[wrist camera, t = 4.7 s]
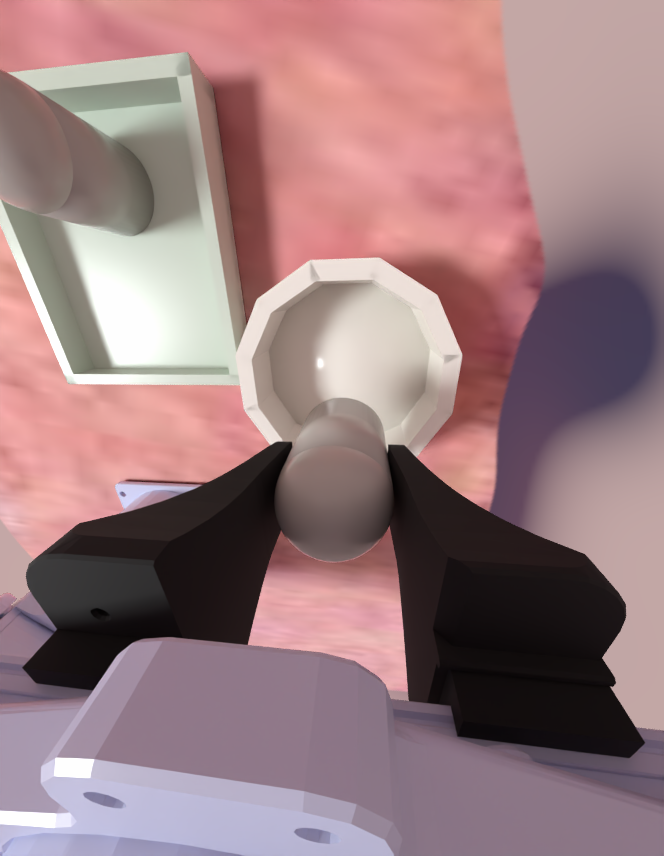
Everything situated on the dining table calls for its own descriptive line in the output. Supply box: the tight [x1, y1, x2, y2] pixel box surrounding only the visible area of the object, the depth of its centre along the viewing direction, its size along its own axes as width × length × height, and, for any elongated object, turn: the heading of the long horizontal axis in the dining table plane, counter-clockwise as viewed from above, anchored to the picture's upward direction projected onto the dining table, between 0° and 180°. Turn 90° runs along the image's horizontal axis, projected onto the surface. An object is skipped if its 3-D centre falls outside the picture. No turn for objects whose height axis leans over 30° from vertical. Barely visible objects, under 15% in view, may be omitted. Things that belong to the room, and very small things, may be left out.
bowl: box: [235, 258, 462, 457], centre depth 16 cm, size 11×11×4 cm
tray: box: [0, 52, 247, 385], centre depth 15 cm, size 13×11×2 cm
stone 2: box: [274, 398, 394, 563], centre depth 10 cm, size 4×4×6 cm
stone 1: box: [0, 70, 154, 236], centre depth 11 cm, size 4×4×6 cm
